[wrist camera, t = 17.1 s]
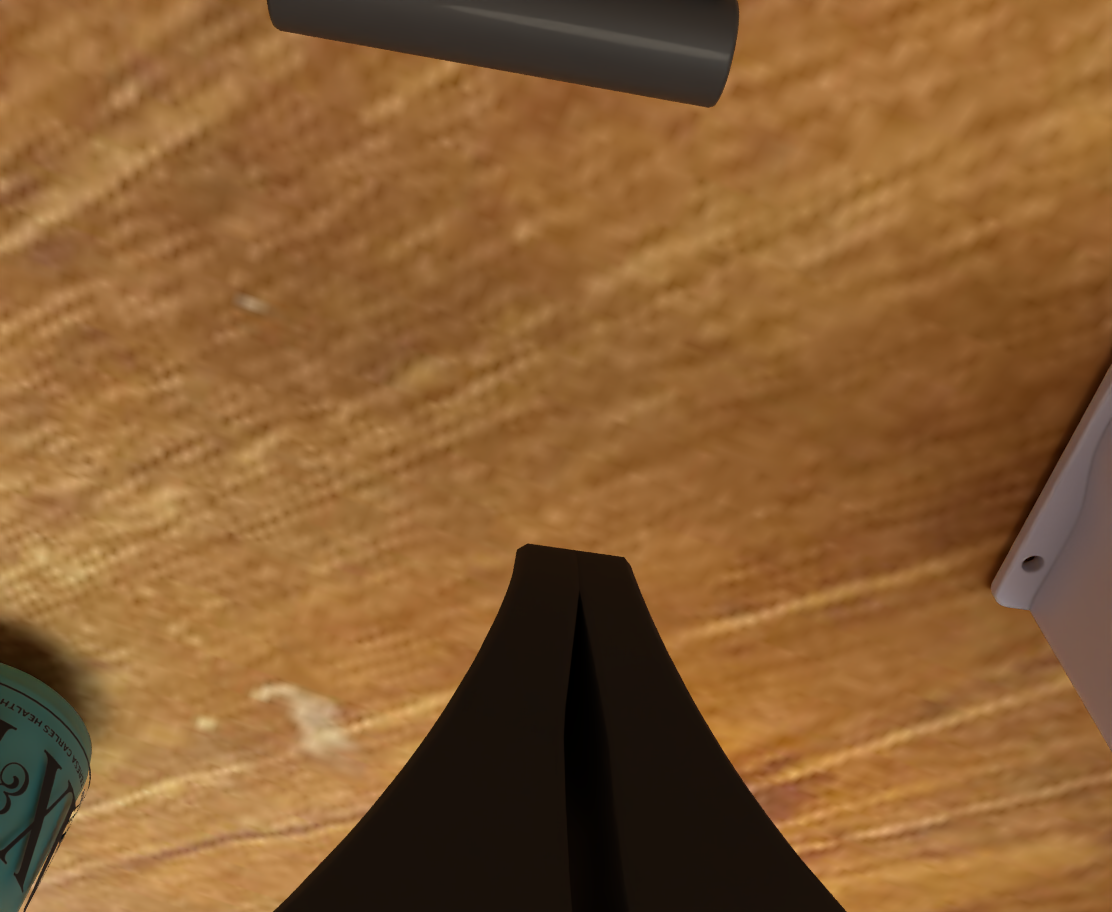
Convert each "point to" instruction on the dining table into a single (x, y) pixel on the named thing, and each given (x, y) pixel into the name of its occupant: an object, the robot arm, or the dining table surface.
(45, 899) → the dining table surface
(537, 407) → the dining table surface
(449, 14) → the drawer
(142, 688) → the dining table surface
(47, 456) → the dining table surface
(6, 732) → the beverage bottle
